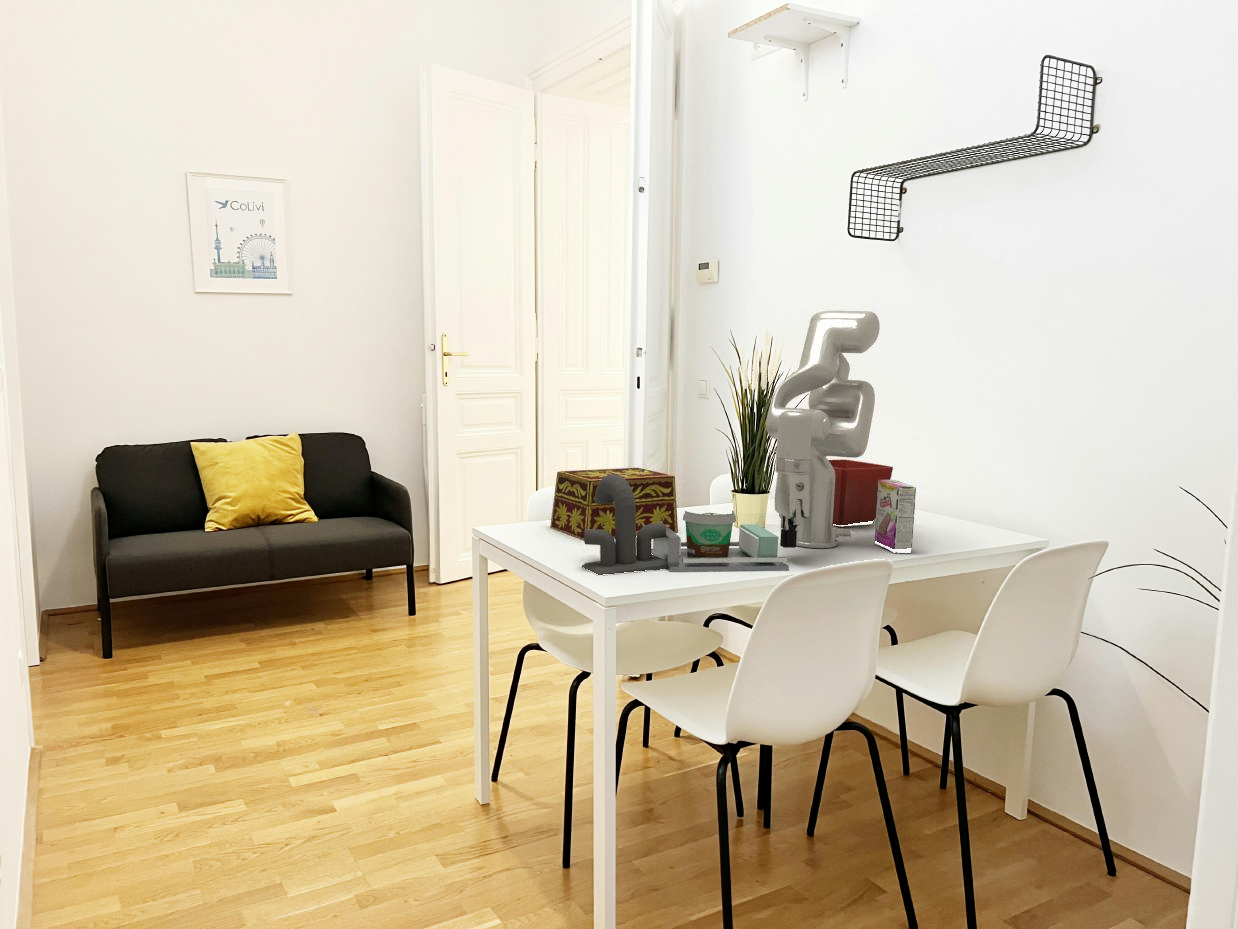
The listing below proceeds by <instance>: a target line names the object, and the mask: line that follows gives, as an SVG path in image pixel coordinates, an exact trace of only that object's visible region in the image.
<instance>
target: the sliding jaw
mask: <svg viewBox="0 0 1238 929" xmlns="http://www.w3.org/2000/svg"><path fill="white" fill-rule="evenodd" d="M738 532H739V534H738V542H739V546H738V548H739V549H740V550H742V551H743V552H745V553H746V554H748V555H749V556H751V557H778V555H779V554H778V553H779V552H778V549H779V536H778V535H776V534H775V533H773V532H771V531H769V530H767V529H766V528H764V527H762V526H761V525H759V524H756V523H755V524H754V523H753V524H752V523H751V524H749V523H748V524H747V523H746V524H743V523H741V524H740V525H739V529H738ZM759 563H770V562H759Z"/></svg>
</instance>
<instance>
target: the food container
mask: <svg viewBox="0 0 1238 929" xmlns="http://www.w3.org/2000/svg"><path fill="white" fill-rule="evenodd" d="M682 520H683V521H684V522H685V538H686V539H685V540H686V542H687V547H686V548H687V555H689V556H692V557H696V558H719V557H728V553H729V548H730V547H731V546H730V542H731V539H732V538H731V537H732V531H733V526H734V524H735V523H736V522H737V517H736V513H735V511H734V510H733V509H732V510H731V513H727V514H725V513H724V514H723V513H722V514H721V513H715V512H705V513H696V512H691V511H690V512H689V511H687V510H685V511H684V513H683V516H682Z"/></svg>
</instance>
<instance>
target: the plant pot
mask: <svg viewBox="0 0 1238 929" xmlns="http://www.w3.org/2000/svg"><path fill="white" fill-rule="evenodd" d="M828 461H829V462H830V464H831V465H832V467H833V469H834V471H835V494H834V509H833V524H836V525H848V524H853V523H860V522H868V521H873V520H874V521H876V510H877V509H876V508H877V491H878V480H892V475H893V471H894V467H893V466H891V465H884V464H878V463H871V462H865V461H859V460H851V459H828Z"/></svg>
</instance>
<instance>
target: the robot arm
mask: <svg viewBox="0 0 1238 929" xmlns="http://www.w3.org/2000/svg"><path fill="white" fill-rule="evenodd" d="M880 327H881V324H880V320H879V317H878V315H877V314H876V313H875V312H873V311H869V310H825V311H820V312H816V313H814V314H813V315H812V316H811V317H810V319H809V326H808V329H807V333H806V335H805V336H806V337H805V341H804V344H803V348H802V349H803V350H802V353H801V357H800V361H799V366H798V368H797V370H795V371H794V372H793V373H791V374H790V375H788V376H787V377H786V378H785V379H784V380H782V382H781V383H780V384H779V385H778V387H776V389H774V390H775V391H774V393H773V394H772V397H771V400H770V403H769V404H770V405H769V408H768V412H767V416H766V423H765V427H766V432H767V434H768V435H769V437H771V438H772V439H775V440H776V441H777V442H776V456H775V458H776V459H775V473H776V474H777V475H776V484H775V492H774V511H775V512H776V513H777V514H778V517H779V518H780V542H779V545H780V546H779V547H782V548H783V549H785V548H787V549H790V548H791V549H792V548H794V549H795V548H796V547H803V548H809V549H810V548H811V549H830V548H835V547H837V546H838V545H839V542H838V538H839V537H844V538H845V537H846V538H847V537H849V538H850V537H851V535H852V531H851V529H850V528H842V527H837V526H833V509H834V494H835V471H834V469H833V467H832V465H831V464H830V462H829V461H828V460H829V459H828V457H838V458H839V457H840V458H853V459H854V458H859V457H862V456H863V455H864V454H865V453H866V450H867V447H868V443H869V438H870V433H871V432H870V431H871V427H872V422H873V416H874V411H875V404H876V402H875V401H876V395H875V390H874V386H873V385H872V384H871V383H870V382H868V381H865V380H861V379H860V380H859V379H849V375H850V371H851V368H850V367H851V366H850V365H851V364H850V363H849V361H848V360H847V358H846V357H845V355H844V354H863V353H866V352H867V351H868V350H869V349H870V348H871V347H872V346H873V345H874V344H875V343H876V341H877V340H878V338H879V334H880ZM806 393H809V395H808V408H801V407H800V408H799V407H798V408H797V407H787V405H788V404H789V403H791V401H792V400H793V399H795V398H797V397H799V396H801V395H803V394H806Z"/></svg>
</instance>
